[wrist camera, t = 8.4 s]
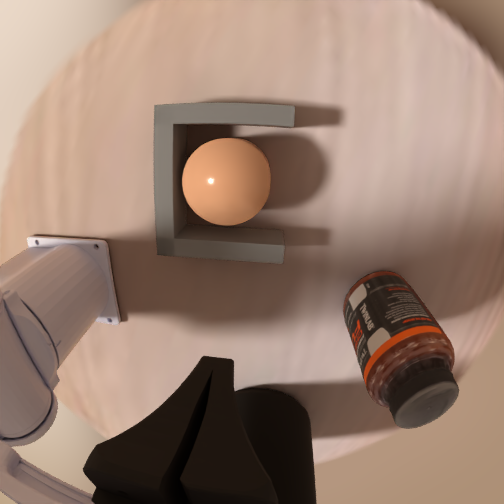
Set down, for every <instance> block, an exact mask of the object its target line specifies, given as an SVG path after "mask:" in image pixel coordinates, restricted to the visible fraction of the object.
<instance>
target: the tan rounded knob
mask: <svg viewBox="0 0 504 504" xmlns="http://www.w3.org/2000/svg"><path fill="white" fill-rule="evenodd" d="M182 186H183V192H184V195H185V198H186V200H187V202H188V204H189V205H190V207H191V208H192V209H193V211H194V212H195V213H196V214H198V215H199V216H200V217H201V218H203V219H205V220H207V221H209V222H211V223H214V224H218V225H236V224H240V223H243V222H245V221H247V220H249V219H251V218H252V217H254V216H255V215H256V214H257V213H258V212H259V211H260V210H261V209H262V207H263V206H264V204H265V203H266V201H267V198H268V196H269V192H270V186H271V176H270V166H269V163H268V160H267V158H266V156H265V155H264V153H263V152H262V151H261V150H260V149H259V148H258V147H257V146H256V145H255V144H253V143H251V142H249V141H247V140H244V139H240V138H222V139H216V140H212V141H209V142H207V143H205V144H203V145H202V146H200V147H199V148H198V149H197V150H195V151H194V153H193V154H192V155H191V156H190V158H189V159H188V161H187V163H186V165H185V168H184V171H183V177H182Z"/></svg>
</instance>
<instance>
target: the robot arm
mask: <svg viewBox="0 0 504 504" xmlns="http://www.w3.org/2000/svg"><path fill="white" fill-rule="evenodd" d="M38 241H39V243H38ZM27 243H28V248H27V249H26V250H24V251H22V252H21V253H19V254H18V255H16V256H14V257H13V258H11V259H10V260H8V261H7V262H5V263H4V264H2V265H1V266H0V491H1V492H2V493H4V494H5V495H6V496H8V497H9V498H11V499H12V500H14V501H15V502H16V503H18V504H278V498H277V495H276V492H275V489H274V487H273V484H272V481H271V479H270V477H269V475H268V474H267V472H266V471H265V469H264V468H263V466H262V464H261V462H260V461H259V459H258V457H257V455H256V453H255V451H254V449H253V447H252V445H251V443H250V441H249V438H248V436H247V433H246V431H245V428H244V426H243V423H242V420H241V417H240V413H239V409H238V406H237V402H236V397H235V391H234V361H233V360H232V359H226V358H217V357H209V356H203V357H202V358H201V359H200V361H199V362H198V364H197V365H196V367H195V368H194V369H193V371H192V372H191V373H190V375H189V376H188V377H187V378H186V379H185V381H184V382H183V383H182V384H181V385H180V387H179V388H178V389H177V390H176V391H175V392H174V393H173V394H172V395H171V396H170V397H169V398H168V399H167V400H166V401H165V402H164V403H163V404H162V405H161V406H160V407H159V408H157V409H156V410H155V411H154V412H153V413H151V414H150V415H149V416H147V417H146V418H145V419H143V420H142V421H141V422H139V423H138V424H136V425H135V426H133V427H131V428H130V429H128V430H126V431H124V432H123V433H121V434H119V435H117V436H115V437H113V438H111V439H109V440H107V441H105V442H102V443H100V444H98V445H96V447H95V448H94V449H93V451H92V452H91V454H90V456H89V457H88V459H87V461H86V464H85V466H84V468H83V472H84V473H85V475H86V476H87V477H88V478H89V480H90V481H92V483H93V484H94V485H95V486H96V490H95V492H94V494H93V495H92V494H89V493H87V492H85V491H83V490H80V489H78V488H76V487H74V486H72V485H70V484H67V483H66V482H63V481H61V480H60V479H58V478H56V477H54V476H52V475H50V474H48V473H46V472H44V471H43V470H41V469H39V468H37V467H36V466H34V465H32V464H30V463H29V462H27V461H26V460H24V459H22V458H21V457H20V455H19V454H18V453H17V452H16V451H15V450H14V449H12V448H11V447H13V446H22V445H27V444H30V443H32V442H35V441H36V440H38V439H39V438H41V437H42V436H43V435H44V434H45V433H46V432H47V431H48V430H49V428H50V427H51V426H52V424H53V422H54V420H55V418H56V414H57V409H58V402H57V398H56V396H55V394H54V392H53V390H54V388H55V387H56V385H57V384H58V382H59V381H60V380H59V378H58V375H57V370H58V368H59V367H60V366H61V364H62V363H63V361H64V360H65V359H66V358H67V356H68V355H69V354H70V352H71V351H72V350H73V348H74V347H75V346H76V344H77V343H78V342H79V341H80V339H81V338H82V337H83V335H84V334H85V333H86V332H87V330H88V329H89V328H90V327H91V325H92V324H93V323H94V322H95V321H96V322H101V323H106V324H112V325H119V323H120V322H121V318H120V314H119V309H118V304H117V299H116V293H115V288H114V282H113V276H112V269H111V263H110V256H109V248H108V244H107V242H106V241H104V240H95V239H79V238H63V237H47V236H29V237H28V238H27ZM96 244H97V245H98V247H99V248H97V247H96ZM110 318H111V319H112V320H111V319H110Z"/></svg>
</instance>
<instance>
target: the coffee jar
mask: <svg viewBox="0 0 504 504" xmlns="http://www.w3.org/2000/svg"><path fill="white" fill-rule="evenodd" d="M235 397H236V402H237V406H238V409H239V413H240V417H241V420H242V423H243V426H244V428H245V431H246V433H247V436H248V438H249V441H250V443H251V445H252V447H253V449H254V451H255V453H256V455H257V457H258V459H259V461H260V462H261V464H262V466H263V468H264V469H265V471H266V472H267V474H268V475H269V477H270V479H271V481H272V484H273V487H274V489H275V492H276V495H277V498H278V504H316V490H315V475H314V461H313V448H312V437H311V425H310V419H309V416H308V413H307V411H306V409H305V408H304V407H303V406H302V405H301V404H300V403H299V402H298V401H296V400H295V399H294V398H293V397H291V396H289V395H287V394H285V393H283V392H279V391H275V390H271V389H259V388H251V389H245V390H238V391H236V392H235Z"/></svg>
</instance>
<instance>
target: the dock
mask: <svg viewBox="0 0 504 504" xmlns="http://www.w3.org/2000/svg"><path fill="white" fill-rule="evenodd" d="M294 116H295V106H288V105H275V104H257V103H182V104H164V105H155V108H154V203H155V225H156V241H157V255H163V256H176V257H190V258H204V259H218V260H232V261H247V262H262V263H277V264H283V259H284V248H285V244H284V235H283V230H273V229H258V228H242V227H225V226H207V225H188V224H186V198H185V195H184V192H183V186H182V177H183V171H184V168H185V165H186V143H187V125H246V126H267V127H282V128H292V127H294Z"/></svg>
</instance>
